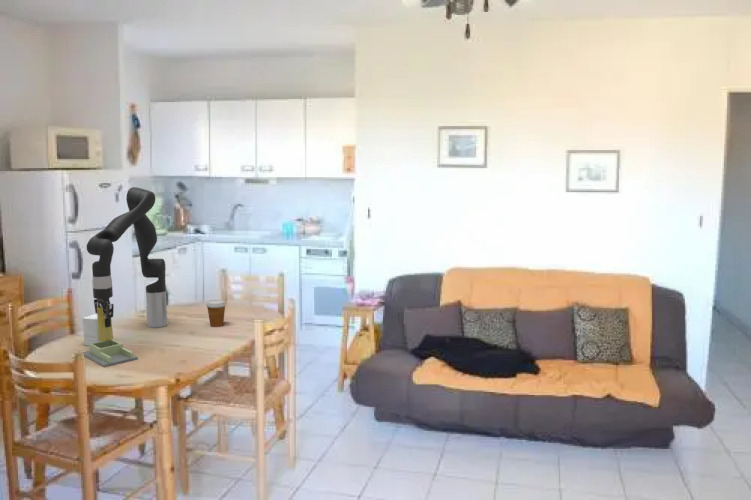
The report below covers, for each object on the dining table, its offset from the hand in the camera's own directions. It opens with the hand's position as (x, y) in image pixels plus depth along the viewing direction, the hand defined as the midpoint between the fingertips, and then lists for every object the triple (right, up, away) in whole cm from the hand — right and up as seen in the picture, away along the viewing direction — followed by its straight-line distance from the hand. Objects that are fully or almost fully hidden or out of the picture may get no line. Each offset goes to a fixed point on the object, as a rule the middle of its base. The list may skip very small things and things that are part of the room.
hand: (104, 325), depth 277 cm
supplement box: (-11, -11, +18) cm, 24 cm away
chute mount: (+2, -13, 0) cm, 13 cm away
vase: (0, -6, +1) cm, 6 cm away
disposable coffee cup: (+35, -6, +49) cm, 61 cm away
